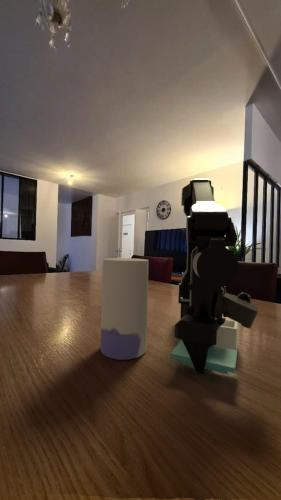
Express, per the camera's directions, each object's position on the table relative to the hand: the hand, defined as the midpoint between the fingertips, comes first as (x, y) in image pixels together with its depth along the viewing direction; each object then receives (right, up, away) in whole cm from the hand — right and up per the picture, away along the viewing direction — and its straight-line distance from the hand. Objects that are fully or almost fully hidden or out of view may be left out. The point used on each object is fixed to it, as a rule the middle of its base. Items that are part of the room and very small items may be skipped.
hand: (204, 363), depth 42 cm
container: (-15, -1, +8) cm, 18 cm away
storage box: (+5, -2, +11) cm, 12 cm away
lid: (0, +1, 0) cm, 1 cm away
